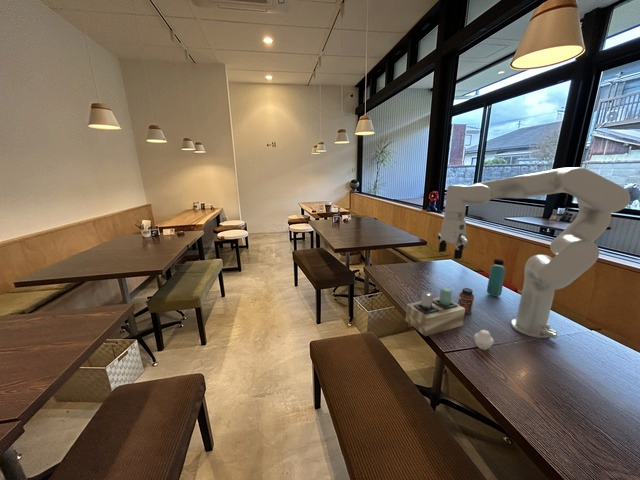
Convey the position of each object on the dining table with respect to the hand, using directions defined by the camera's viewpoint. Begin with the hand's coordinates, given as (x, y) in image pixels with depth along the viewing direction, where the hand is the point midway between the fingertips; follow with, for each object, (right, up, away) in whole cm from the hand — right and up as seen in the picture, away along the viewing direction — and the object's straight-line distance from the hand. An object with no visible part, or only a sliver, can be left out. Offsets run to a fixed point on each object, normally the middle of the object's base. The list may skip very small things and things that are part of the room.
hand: (449, 255), depth 110 cm
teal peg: (-2, -23, +1) cm, 23 cm away
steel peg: (-11, -24, -2) cm, 26 cm away
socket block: (-6, -30, +1) cm, 30 cm away
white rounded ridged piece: (+5, -34, -14) cm, 37 cm away
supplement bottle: (+12, -27, +10) cm, 31 cm away
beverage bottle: (+35, -23, +24) cm, 48 cm away
